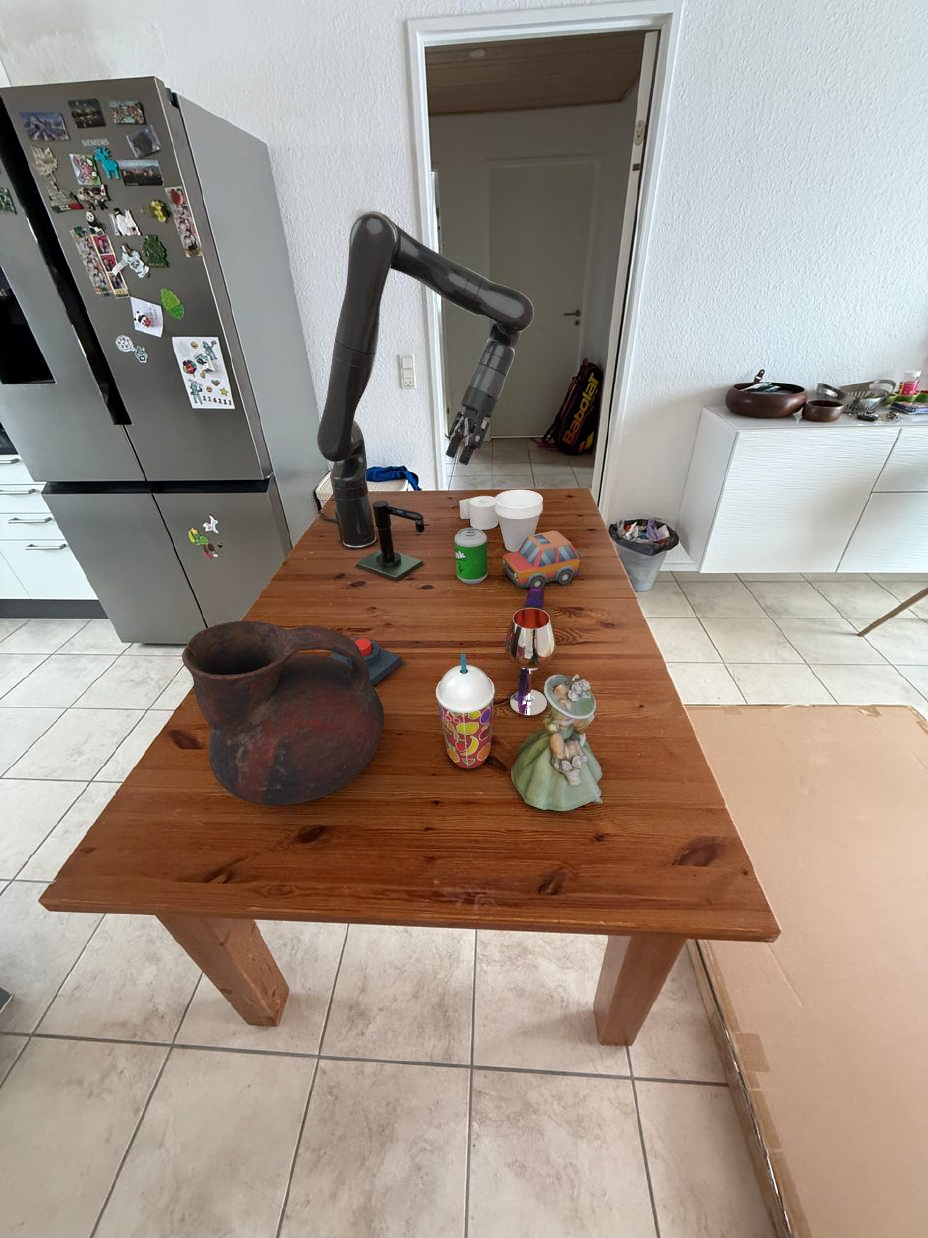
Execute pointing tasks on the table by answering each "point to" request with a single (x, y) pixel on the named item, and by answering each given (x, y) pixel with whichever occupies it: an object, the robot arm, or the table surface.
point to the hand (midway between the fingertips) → (455, 460)
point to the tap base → (389, 559)
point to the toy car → (542, 561)
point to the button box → (375, 662)
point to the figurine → (560, 751)
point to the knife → (536, 601)
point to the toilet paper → (479, 512)
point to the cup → (518, 516)
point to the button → (364, 646)
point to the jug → (283, 710)
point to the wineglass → (530, 654)
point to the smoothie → (466, 713)
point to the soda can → (471, 555)
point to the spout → (384, 511)
